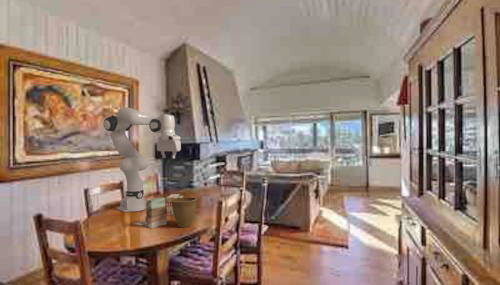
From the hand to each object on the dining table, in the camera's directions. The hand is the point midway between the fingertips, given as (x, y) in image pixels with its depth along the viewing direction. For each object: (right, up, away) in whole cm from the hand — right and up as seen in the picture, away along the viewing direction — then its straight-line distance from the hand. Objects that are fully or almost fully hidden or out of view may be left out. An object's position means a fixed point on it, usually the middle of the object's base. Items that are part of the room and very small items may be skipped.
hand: (168, 158), depth 213 cm
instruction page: (-12, -40, -15) cm, 44 cm away
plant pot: (+15, -40, -22) cm, 48 cm away
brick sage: (-3, -29, -21) cm, 35 cm away
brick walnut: (-2, -34, -21) cm, 39 cm away
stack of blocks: (+1, -39, +15) cm, 42 cm away
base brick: (-2, -40, -20) cm, 45 cm away
